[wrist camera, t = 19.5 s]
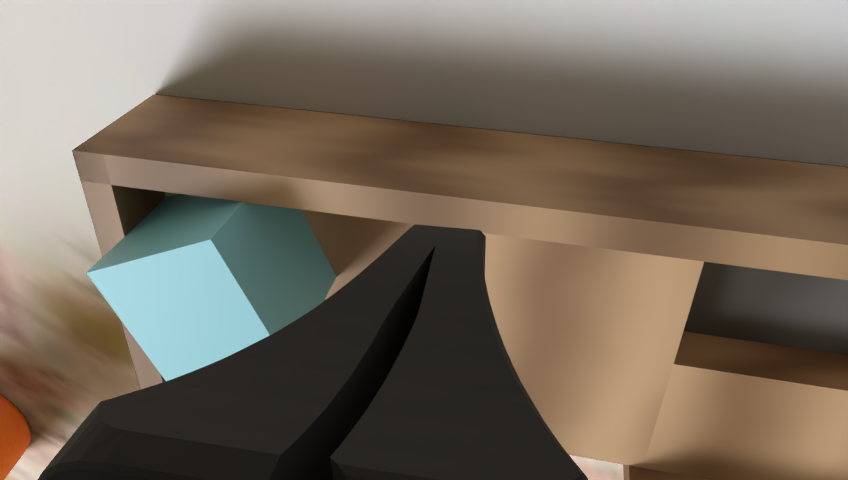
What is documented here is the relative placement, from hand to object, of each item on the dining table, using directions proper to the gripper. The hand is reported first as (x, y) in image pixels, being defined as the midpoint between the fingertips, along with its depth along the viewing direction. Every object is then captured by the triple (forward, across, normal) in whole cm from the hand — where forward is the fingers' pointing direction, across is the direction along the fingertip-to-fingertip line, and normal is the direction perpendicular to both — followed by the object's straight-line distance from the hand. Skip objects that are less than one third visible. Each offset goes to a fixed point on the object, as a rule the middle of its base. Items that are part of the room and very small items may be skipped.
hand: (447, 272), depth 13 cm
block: (+8, +8, +5) cm, 13 cm away
